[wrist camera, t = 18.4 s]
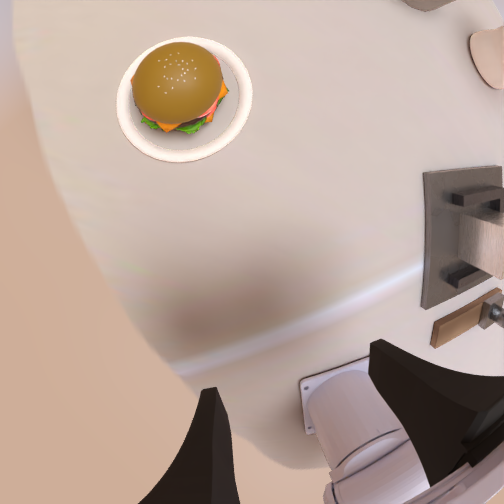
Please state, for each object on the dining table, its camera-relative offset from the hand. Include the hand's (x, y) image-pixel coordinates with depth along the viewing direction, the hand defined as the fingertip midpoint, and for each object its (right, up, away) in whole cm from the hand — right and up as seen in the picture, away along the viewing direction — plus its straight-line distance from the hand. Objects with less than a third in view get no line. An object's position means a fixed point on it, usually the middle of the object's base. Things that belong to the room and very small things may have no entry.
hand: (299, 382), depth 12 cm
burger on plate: (-7, +16, +5) cm, 18 cm away
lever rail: (+24, -2, +15) cm, 29 cm away
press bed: (+20, +8, +11) cm, 24 cm away
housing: (+20, +8, +10) cm, 24 cm away
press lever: (+28, -1, +14) cm, 31 cm away
